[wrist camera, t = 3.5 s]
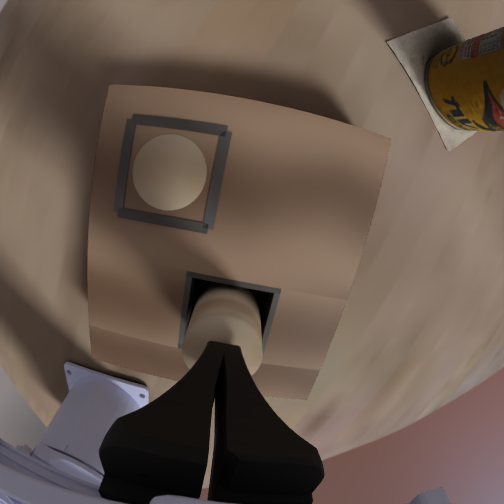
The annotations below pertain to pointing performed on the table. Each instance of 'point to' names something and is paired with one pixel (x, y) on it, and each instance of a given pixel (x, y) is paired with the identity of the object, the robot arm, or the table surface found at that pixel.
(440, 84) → the condiment
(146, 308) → the board
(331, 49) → the table surface
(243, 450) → the robot arm
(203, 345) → the peg
